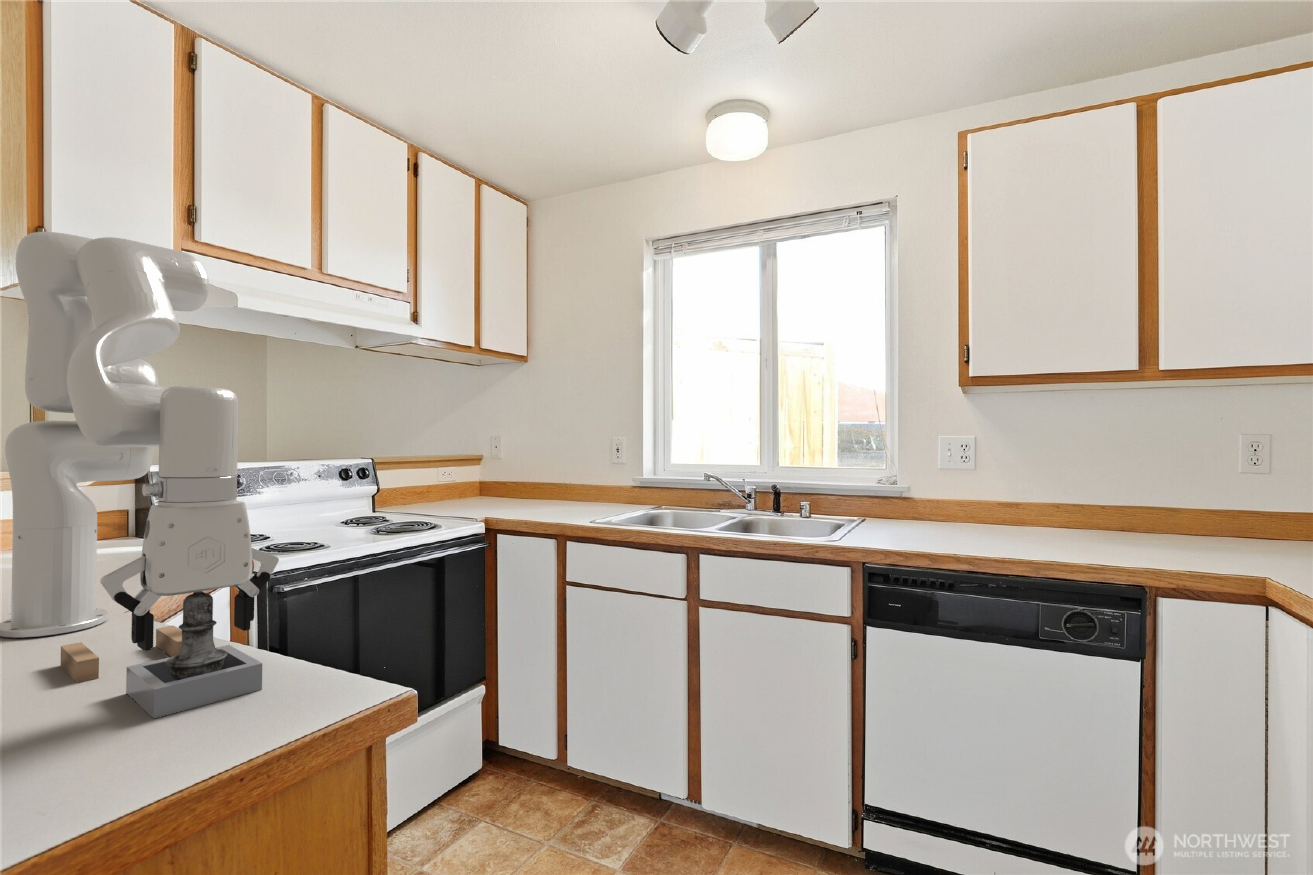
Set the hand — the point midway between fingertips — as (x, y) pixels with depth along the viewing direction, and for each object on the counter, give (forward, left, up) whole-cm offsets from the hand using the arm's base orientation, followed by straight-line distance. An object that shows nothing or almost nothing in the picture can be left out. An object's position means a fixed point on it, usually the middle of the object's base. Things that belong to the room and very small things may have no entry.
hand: (195, 637), depth 75 cm
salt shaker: (+1, 0, -6) cm, 6 cm away
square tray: (0, 0, -6) cm, 6 cm away
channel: (-18, -2, -6) cm, 19 cm away
